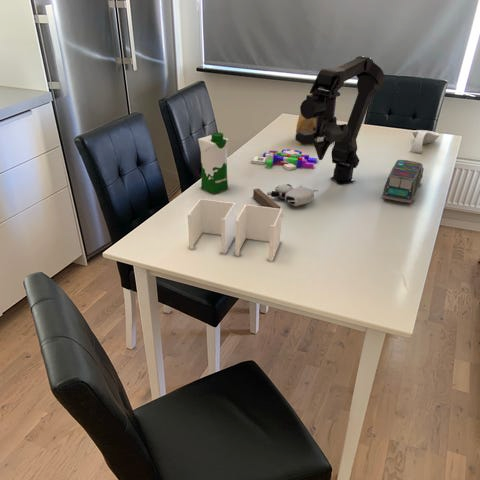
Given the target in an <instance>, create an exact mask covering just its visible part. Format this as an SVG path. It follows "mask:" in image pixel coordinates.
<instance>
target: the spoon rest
mask: <svg viewBox="0 0 480 480" xmlns="http://www.w3.org/2000/svg"><path fill="white" fill-rule="evenodd" d="M412 135H413V138H414V140H413V142H412V145H411V147H410V151H409V152H411V153H417V154H421V153H422V152H423V151H422V150H423V145H424V144H426V145H427V144H431V143H433V142H435V141H437V140H438V139H439V137H440V133H438V132H437V131H432V130H427V129H426V130H424V129H416V130H413V131H412Z"/></svg>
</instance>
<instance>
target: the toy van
mask: <svg viewBox="0 0 480 480" xmlns="http://www.w3.org/2000/svg"><path fill="white" fill-rule="evenodd" d="M424 170H425V168H424V166H423V163H421V162H418V161H414V160H408V159H397V160H396V162H395V163H394V165H393V166H392V168H391V171H390V172H389V174H388V176H387V178H386V181H385V184H384V186H383V191H382V195H381V198H382V199H386V200H390V201H391V200H392V201H396V202H402V203H408V204H411V203H412V202H413V200H414V197H415V194H416V193H417V191H418V188H419V187H420V186H421V180H422V179H423V175H424Z"/></svg>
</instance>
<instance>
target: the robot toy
mask: <svg viewBox="0 0 480 480" xmlns="http://www.w3.org/2000/svg"><path fill="white" fill-rule="evenodd" d="M319 191H320V190H319V189H313V188H310V187H305V186H298V187H295V188H294V187H293V186H292V185H291V184H289V183H287V184H282V185H278V186H275V189H274V190H271V191H268V192H266V195H267V196H270V197H271V198H277V197H278V198H279V199H281V200H283V199H284V201H285V203H286V204H290V205H291V206H293V207H299V206H302V205H305V204H308V203H310V202H311V201H312V200H313V199H314V198H315V192H319Z"/></svg>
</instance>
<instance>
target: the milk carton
mask: <svg viewBox="0 0 480 480" xmlns="http://www.w3.org/2000/svg"><path fill="white" fill-rule="evenodd" d="M197 141H198V146H199V150H200V163H201V164H200V165H201V183H200V189H201V190H204V191H206V192H208V193H211V194H213V195H215V194H218V193H220V192H223V191H226V190H229V186H228V185H229V183H228V146H229V141H230V139H229V138H226V137H224V133H223V132H219V131H218V132H213V133H211V134H210V135H206V136H203V137H199V138H197Z"/></svg>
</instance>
